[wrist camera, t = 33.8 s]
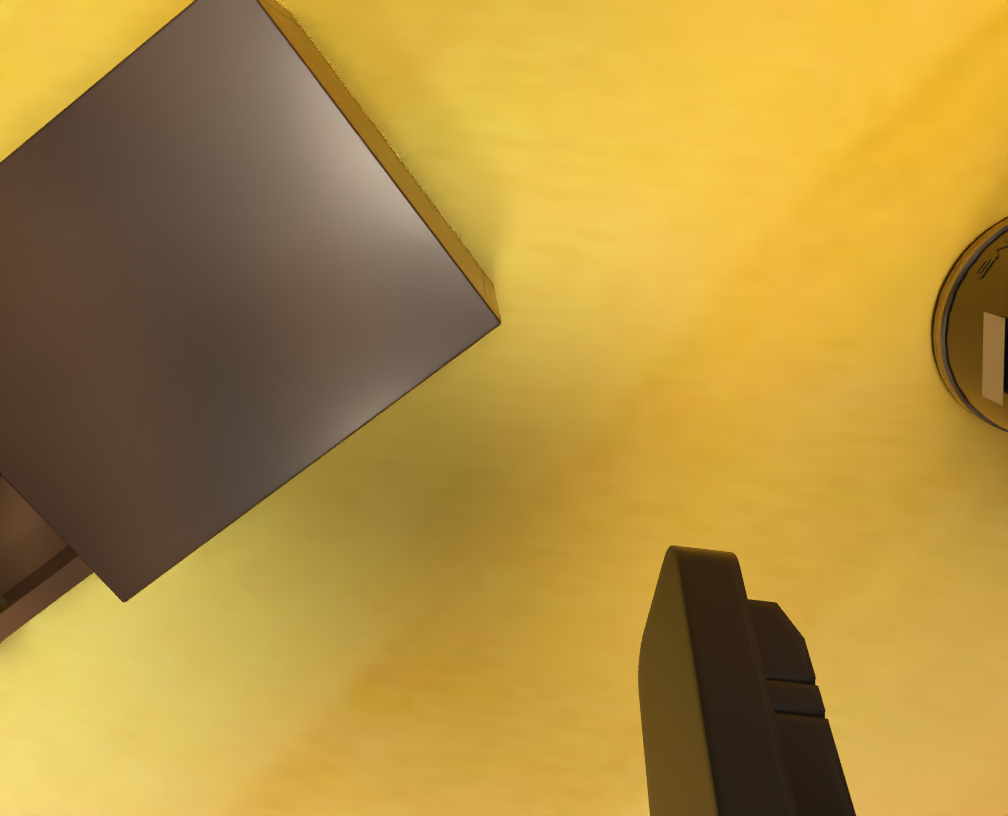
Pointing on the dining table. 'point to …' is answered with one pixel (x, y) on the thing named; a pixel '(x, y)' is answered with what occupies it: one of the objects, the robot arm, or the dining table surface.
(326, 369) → the cabinet
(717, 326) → the dining table surface
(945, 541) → the dining table surface
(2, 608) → the drawer
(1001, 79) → the dining table surface
